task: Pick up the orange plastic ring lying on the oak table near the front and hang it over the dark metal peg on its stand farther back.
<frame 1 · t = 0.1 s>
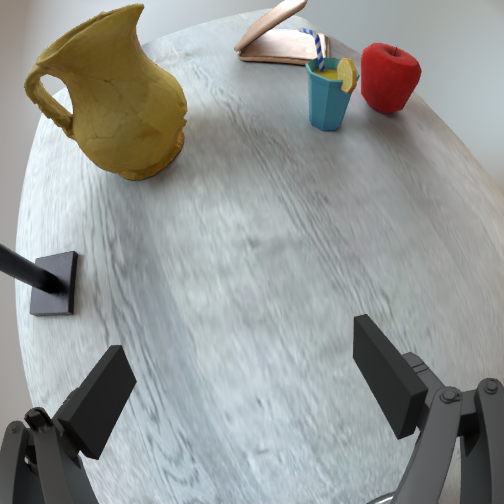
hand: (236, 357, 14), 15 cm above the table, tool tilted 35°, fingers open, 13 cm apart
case: (286, 48, 52), on the table
pitcher: (143, 149, 41), on the table
cup: (321, 118, 41), on the table
peg stand: (54, 285, 33), on the table
apple: (379, 105, 42), on the table
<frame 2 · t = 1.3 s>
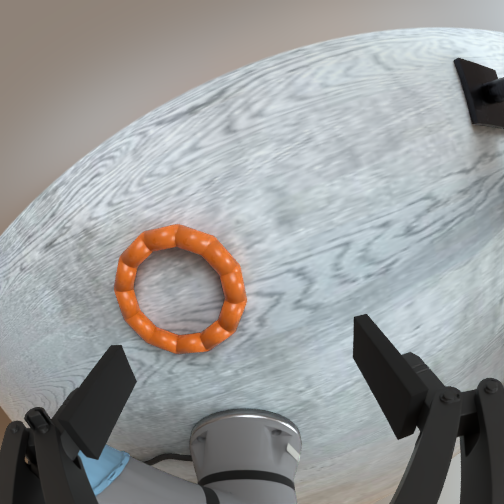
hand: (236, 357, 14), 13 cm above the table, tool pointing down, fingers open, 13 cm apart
ring: (176, 294, 26), point 1 cm above the table
peg stand: (483, 95, 22), on the table
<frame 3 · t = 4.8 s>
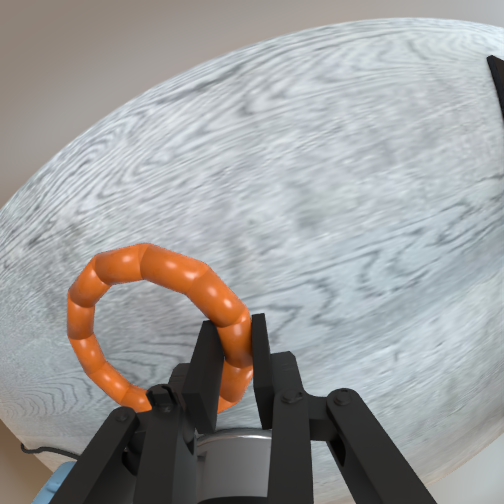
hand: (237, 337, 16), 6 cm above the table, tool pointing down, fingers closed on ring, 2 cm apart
ring: (152, 347, 16), point 7 cm above the table, touching gripper
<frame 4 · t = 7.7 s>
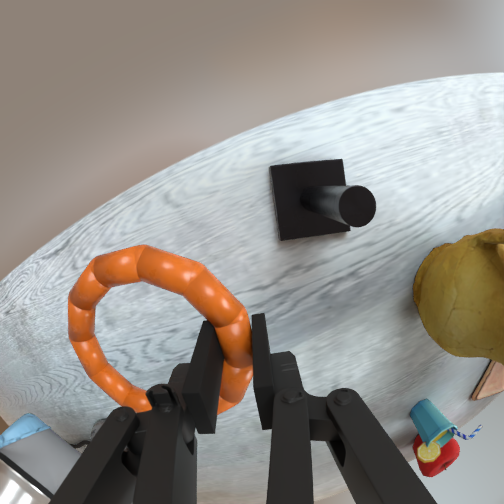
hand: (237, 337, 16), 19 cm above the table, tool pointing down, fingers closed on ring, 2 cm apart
pitcher: (444, 274, 36), on the table
ring: (152, 349, 16), point 19 cm above the table, touching gripper
cup: (423, 405, 43), on the table
peg stand: (310, 198, 33), on the table
apple: (424, 433, 46), on the table
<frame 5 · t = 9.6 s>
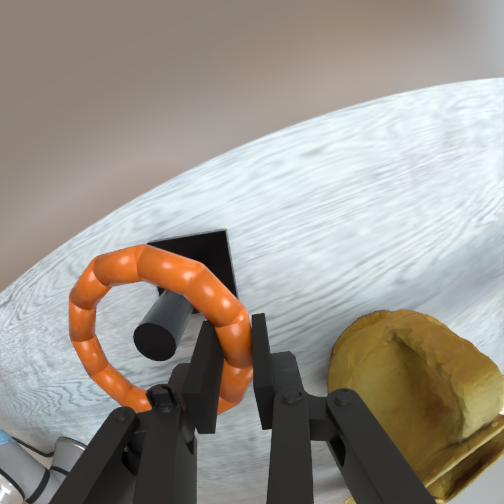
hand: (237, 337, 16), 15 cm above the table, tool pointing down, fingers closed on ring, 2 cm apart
pitcher: (376, 342, 34), on the table
ring: (152, 348, 16), point 16 cm above the table, touching gripper
peg stand: (194, 273, 31), on the table
when the fingers open (12 cm above the table, at t = 10.9 s): ring drops 10 cm, resting on peg stand.
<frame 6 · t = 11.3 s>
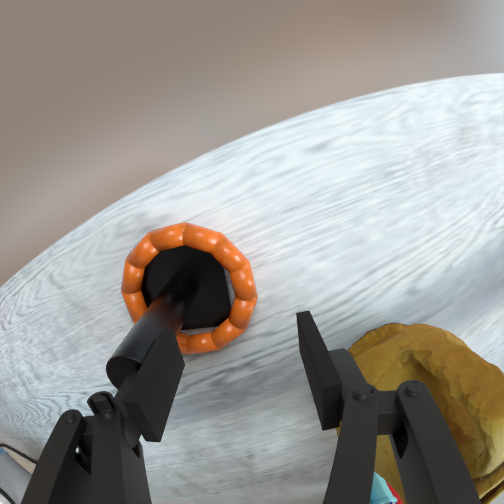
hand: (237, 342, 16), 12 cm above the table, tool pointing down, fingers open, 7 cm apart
pitcher: (385, 357, 31), on the table
ring: (185, 294, 25), point 2 cm above the table, touching peg stand
cup: (367, 468, 37), on the table
peg stand: (184, 285, 28), on the table
apple: (375, 486, 40), on the table
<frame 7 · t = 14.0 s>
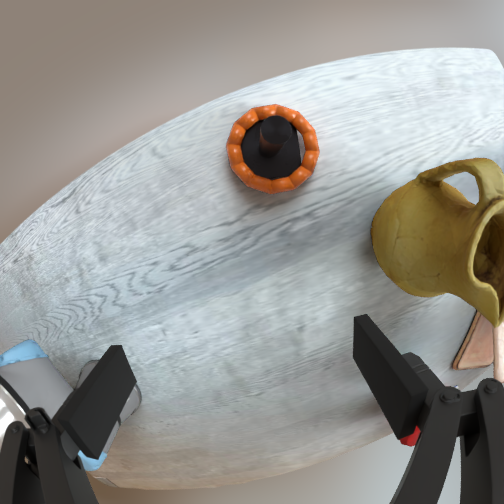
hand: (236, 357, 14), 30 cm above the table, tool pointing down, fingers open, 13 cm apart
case: (487, 332, 48), on the table
pitcher: (404, 224, 42), on the table
ring: (273, 147, 37), point 2 cm above the table, touching peg stand
peg stand: (268, 149, 39), on the table
apple: (403, 400, 52), on the table
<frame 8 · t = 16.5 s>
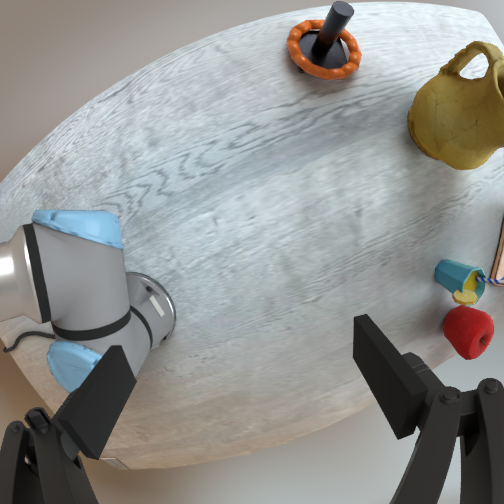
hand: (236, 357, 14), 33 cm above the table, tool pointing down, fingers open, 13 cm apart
pitcher: (433, 124, 41), on the table
ring: (325, 47, 36), point 2 cm above the table, touching peg stand
cup: (445, 269, 48), on the table
peg stand: (318, 52, 38), on the table
apple: (451, 318, 51), on the table
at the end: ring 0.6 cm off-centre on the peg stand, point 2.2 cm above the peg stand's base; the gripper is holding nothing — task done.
